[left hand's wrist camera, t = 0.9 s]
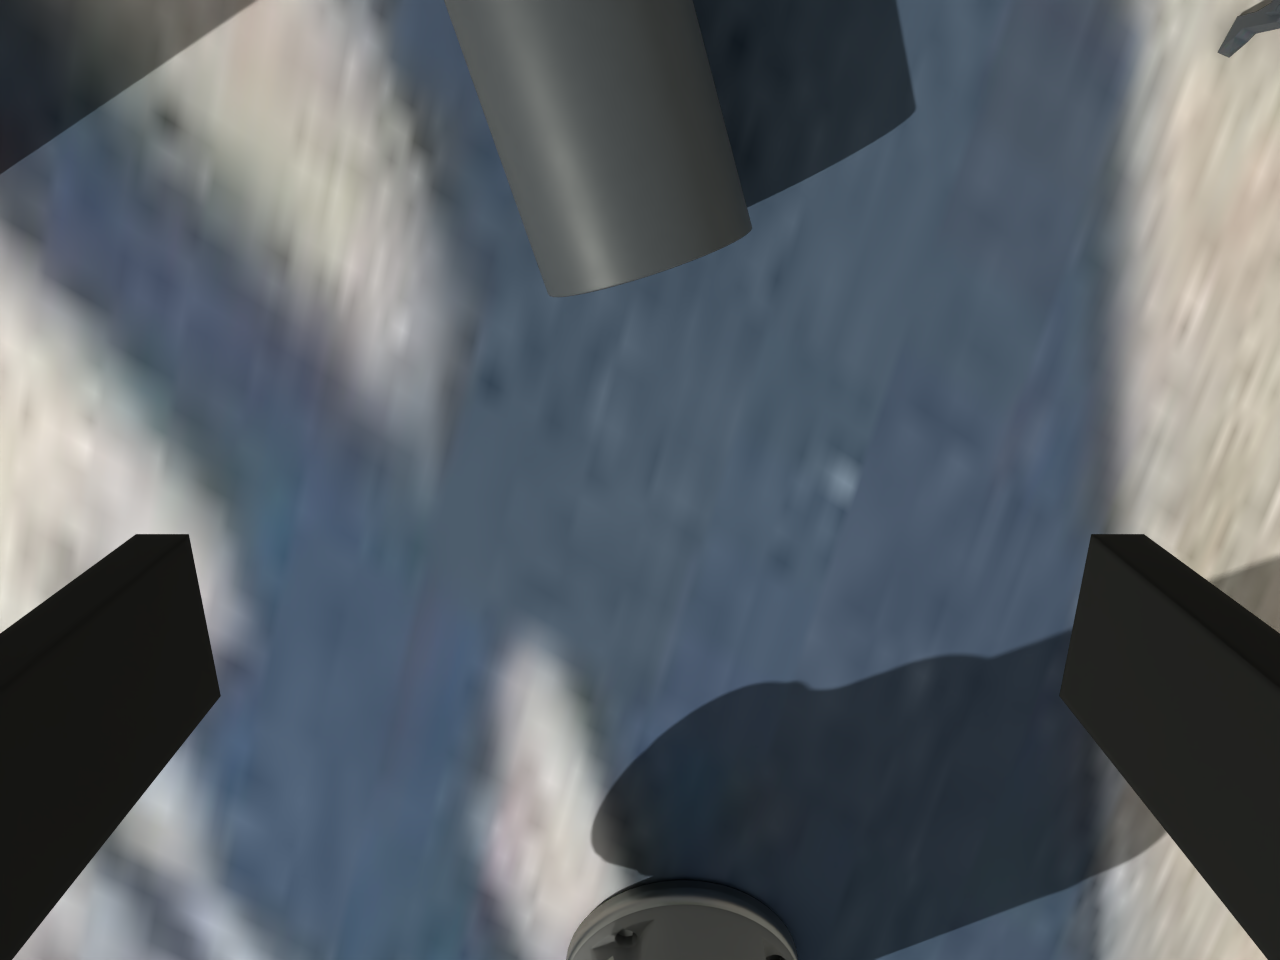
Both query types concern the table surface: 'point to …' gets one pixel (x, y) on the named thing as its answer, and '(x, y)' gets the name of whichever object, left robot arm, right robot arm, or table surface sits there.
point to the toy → (1251, 27)
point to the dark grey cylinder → (605, 134)
